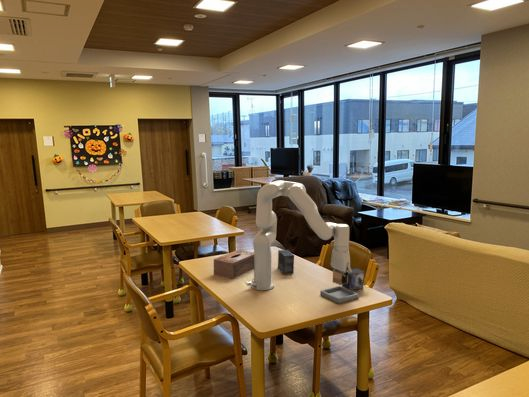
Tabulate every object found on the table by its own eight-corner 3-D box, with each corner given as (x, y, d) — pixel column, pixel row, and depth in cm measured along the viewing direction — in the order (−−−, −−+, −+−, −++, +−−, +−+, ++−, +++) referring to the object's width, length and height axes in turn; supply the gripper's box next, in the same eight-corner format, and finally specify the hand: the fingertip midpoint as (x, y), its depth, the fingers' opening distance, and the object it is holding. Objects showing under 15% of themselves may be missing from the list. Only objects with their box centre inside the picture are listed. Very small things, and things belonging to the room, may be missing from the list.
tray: (338, 304, 193) (339, 299, 193) (320, 294, 205) (320, 290, 205) (358, 298, 201) (358, 293, 200) (339, 289, 212) (339, 285, 212)
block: (340, 285, 198) (340, 274, 197) (332, 281, 202) (333, 271, 202) (347, 283, 201) (348, 272, 200) (340, 280, 205) (340, 269, 205)
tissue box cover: (232, 279, 227) (232, 263, 225) (213, 274, 234) (213, 259, 233) (256, 268, 248) (256, 253, 247) (238, 264, 256) (238, 249, 254)
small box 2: (348, 292, 208) (349, 274, 207) (341, 288, 214) (342, 270, 213) (363, 289, 213) (364, 271, 212) (356, 285, 219) (356, 267, 217)
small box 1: (294, 274, 237) (294, 255, 235) (283, 274, 236) (283, 255, 234) (287, 267, 250) (288, 249, 248) (277, 268, 248) (277, 250, 246)
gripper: (324, 245, 204) (323, 277, 207) (348, 252, 190) (346, 287, 192) (335, 243, 208) (334, 275, 211) (358, 250, 194) (357, 285, 196)
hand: (340, 281), depth 202 cm, fingers closed on block, 5 cm apart
